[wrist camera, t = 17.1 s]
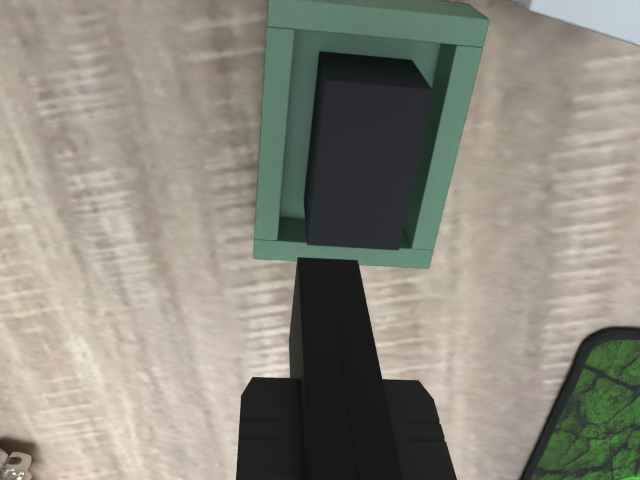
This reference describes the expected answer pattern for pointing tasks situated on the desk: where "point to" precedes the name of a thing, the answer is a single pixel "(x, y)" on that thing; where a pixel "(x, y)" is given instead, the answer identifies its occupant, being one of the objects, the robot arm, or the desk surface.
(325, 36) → the green open tray
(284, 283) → the desk surface
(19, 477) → the ornament
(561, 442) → the mouse mat
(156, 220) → the desk surface
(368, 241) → the black rectangular block
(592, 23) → the product box
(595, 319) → the desk surface
